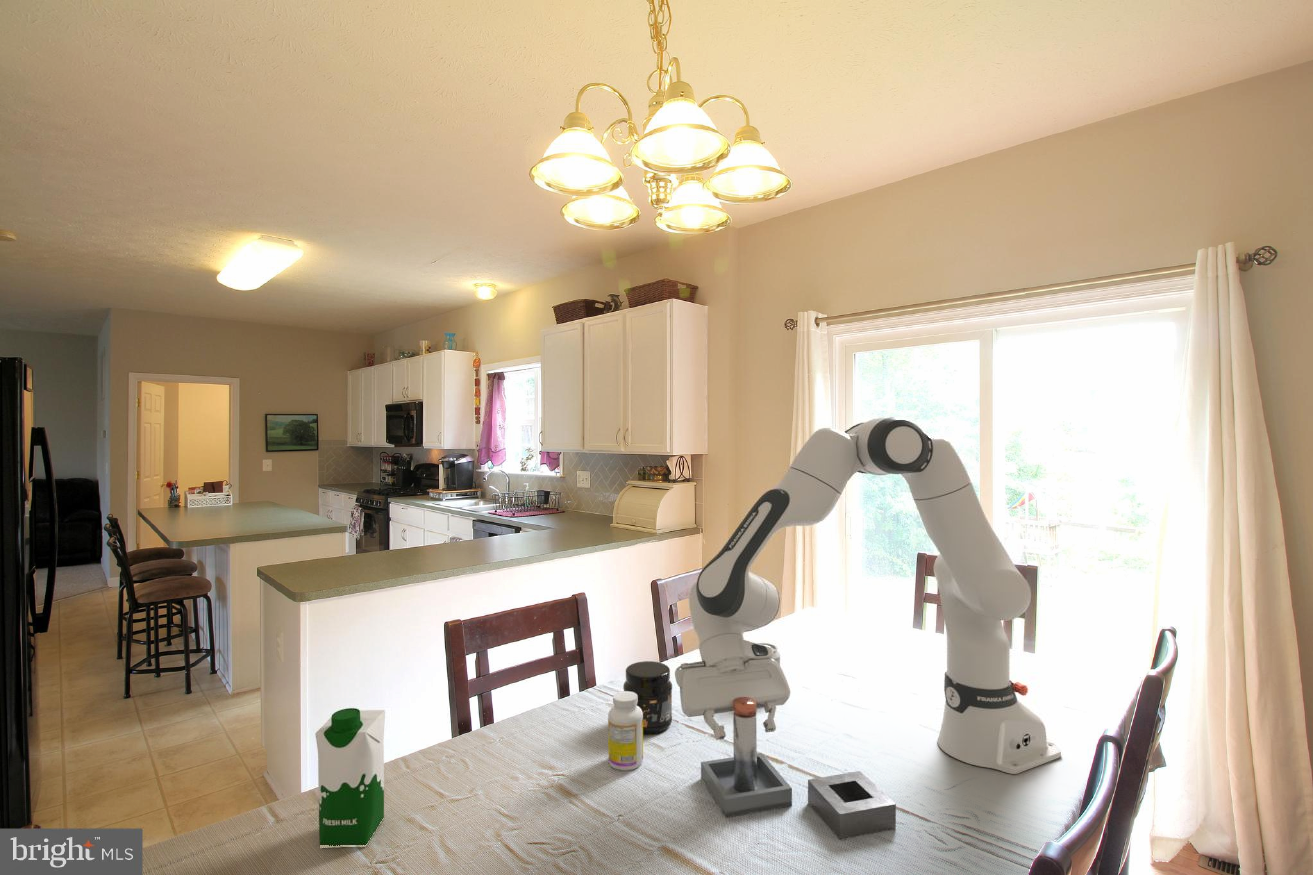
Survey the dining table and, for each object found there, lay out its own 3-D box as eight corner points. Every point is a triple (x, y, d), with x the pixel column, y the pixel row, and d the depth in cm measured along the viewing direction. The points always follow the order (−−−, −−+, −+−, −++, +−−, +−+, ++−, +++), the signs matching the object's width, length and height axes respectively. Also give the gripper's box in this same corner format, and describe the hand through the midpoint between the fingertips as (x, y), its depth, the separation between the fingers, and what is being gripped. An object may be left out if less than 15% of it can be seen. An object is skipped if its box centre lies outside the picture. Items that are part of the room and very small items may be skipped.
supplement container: (613, 724, 136) (613, 668, 136) (648, 708, 144) (648, 656, 144) (647, 741, 129) (647, 682, 129) (682, 724, 136) (682, 668, 136)
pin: (751, 779, 113) (750, 695, 113) (760, 791, 110) (760, 704, 109) (730, 782, 112) (729, 698, 112) (739, 794, 108) (738, 707, 108)
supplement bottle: (624, 750, 125) (624, 685, 125) (650, 761, 121) (650, 694, 121) (601, 764, 120) (600, 696, 120) (626, 776, 116) (626, 706, 116)
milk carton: (310, 853, 95) (308, 721, 95) (338, 816, 104) (337, 695, 104) (369, 851, 95) (368, 720, 95) (392, 815, 104) (391, 694, 104)
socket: (859, 793, 110) (859, 770, 110) (895, 828, 101) (895, 803, 101) (807, 802, 108) (807, 779, 108) (839, 839, 98) (839, 814, 98)
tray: (761, 768, 118) (761, 752, 118) (791, 805, 107) (791, 788, 107) (701, 778, 115) (700, 761, 115) (725, 817, 104) (725, 799, 104)
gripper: (676, 656, 115) (693, 735, 105) (779, 646, 120) (804, 720, 111) (669, 672, 119) (685, 749, 110) (769, 661, 124) (792, 733, 115)
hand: (746, 734), depth 110 cm, fingers open, 8 cm apart
